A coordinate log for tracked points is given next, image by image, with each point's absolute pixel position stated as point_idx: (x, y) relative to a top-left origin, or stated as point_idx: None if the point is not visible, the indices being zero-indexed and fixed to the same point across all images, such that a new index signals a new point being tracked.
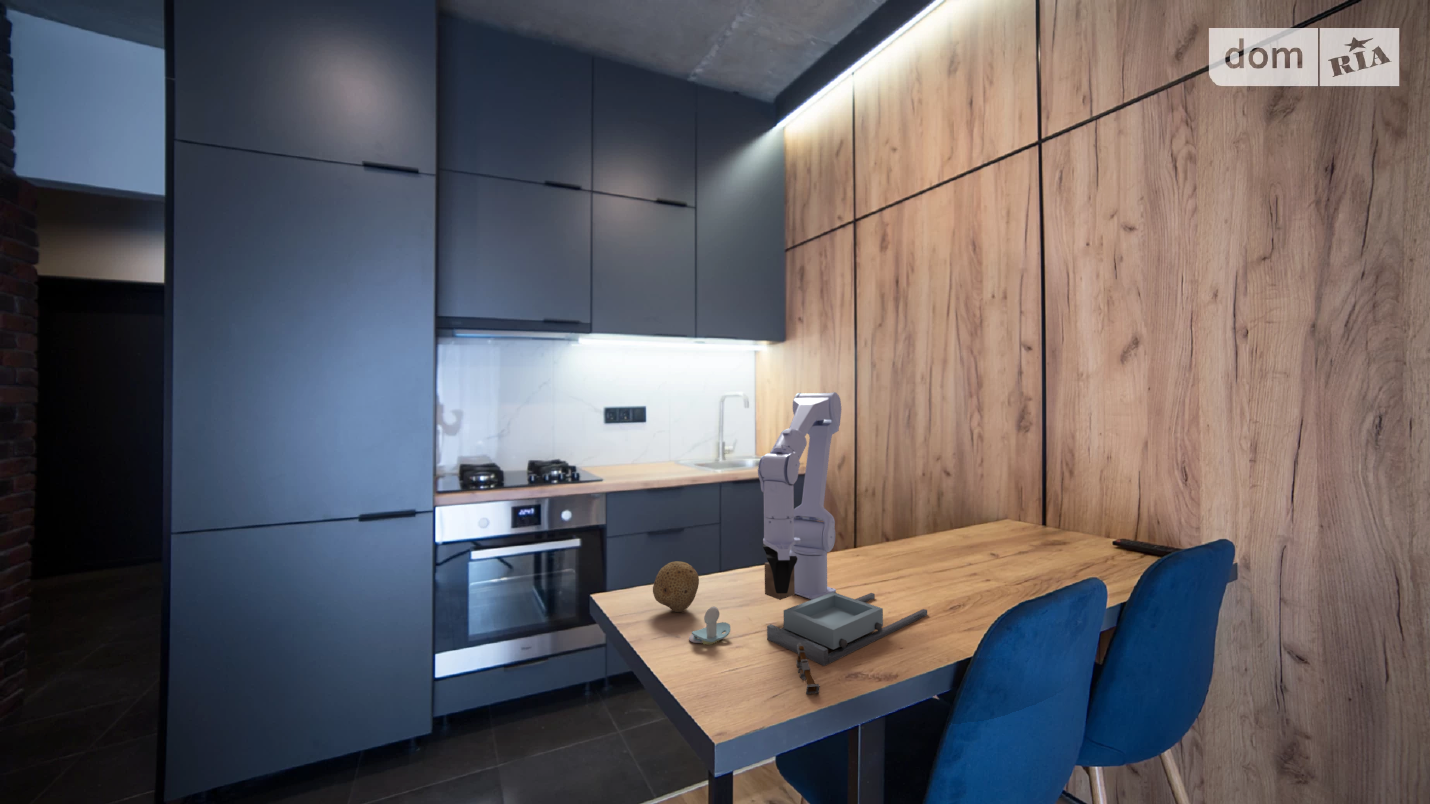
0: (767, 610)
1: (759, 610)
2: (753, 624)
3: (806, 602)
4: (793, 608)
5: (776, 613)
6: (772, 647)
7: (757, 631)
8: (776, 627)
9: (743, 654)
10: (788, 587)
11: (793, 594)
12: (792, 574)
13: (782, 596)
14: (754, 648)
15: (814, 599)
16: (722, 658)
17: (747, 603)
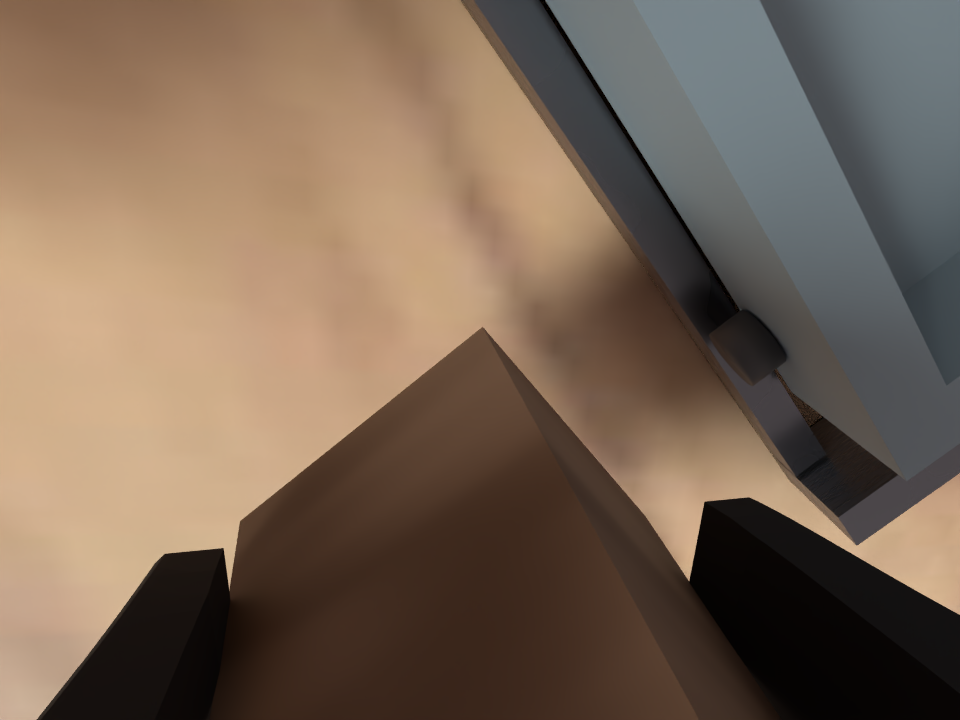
0: (189, 476)
1: (197, 543)
2: None
3: (760, 185)
4: (896, 376)
5: (266, 397)
6: None
7: None
8: (912, 478)
9: (934, 600)
10: (822, 537)
11: (500, 349)
12: (623, 566)
13: (633, 509)
14: (885, 550)
15: (667, 25)
16: None
17: (14, 647)
